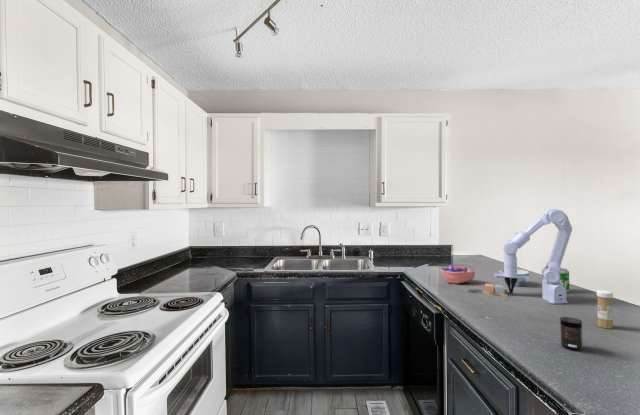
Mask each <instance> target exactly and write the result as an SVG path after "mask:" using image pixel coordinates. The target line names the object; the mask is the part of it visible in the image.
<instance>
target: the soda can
mask: <svg viewBox="0 0 640 415" xmlns="http://www.w3.org/2000/svg"><path fill="white" fill-rule="evenodd" d="M559 281H560V283H561V285H562V286H564V287H565V288H566V294H568V292H570V291H571V288H570V286H571V285H570V271H569V270H568V269H567V268H565V267H564V268H563V267H561V268H560V280H559Z"/></svg>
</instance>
